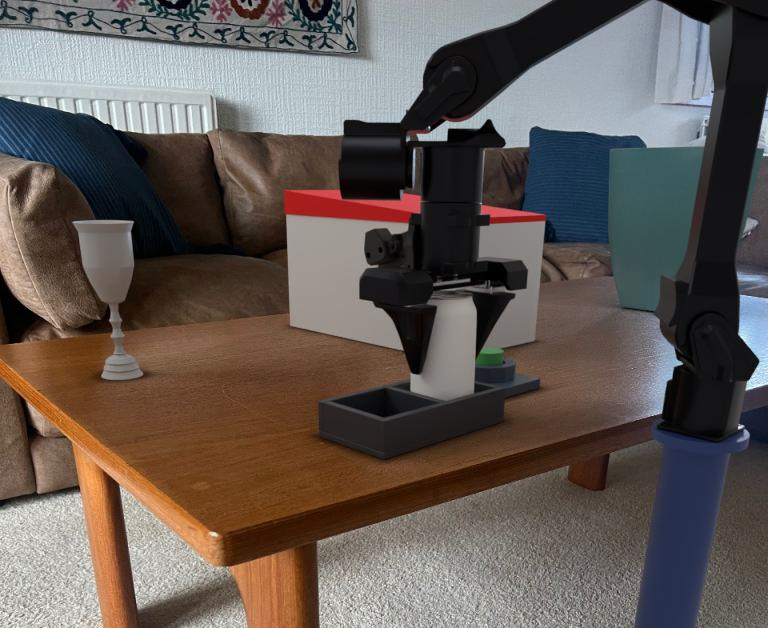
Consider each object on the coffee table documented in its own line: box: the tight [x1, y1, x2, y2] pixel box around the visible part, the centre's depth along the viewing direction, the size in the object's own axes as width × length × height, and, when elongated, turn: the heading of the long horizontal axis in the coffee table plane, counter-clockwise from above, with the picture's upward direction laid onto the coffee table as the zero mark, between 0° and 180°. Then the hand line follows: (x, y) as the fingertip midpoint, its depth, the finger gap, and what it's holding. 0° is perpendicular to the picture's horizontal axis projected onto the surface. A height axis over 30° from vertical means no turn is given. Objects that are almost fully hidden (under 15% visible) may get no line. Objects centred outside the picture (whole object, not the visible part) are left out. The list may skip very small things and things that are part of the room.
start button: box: [475, 347, 505, 366], centre depth 93 cm, size 4×4×2 cm
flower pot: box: [607, 145, 765, 312], centre depth 146 cm, size 20×20×28 cm
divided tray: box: [317, 378, 506, 460], centre depth 78 cm, size 9×17×4 cm, turn 134°
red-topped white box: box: [283, 189, 547, 352], centre depth 121 cm, size 21×35×21 cm, turn 45°
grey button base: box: [474, 357, 541, 399], centre depth 94 cm, size 10×8×3 cm
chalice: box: [72, 219, 144, 381], centre depth 94 cm, size 7×7×18 cm
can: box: [410, 290, 477, 401], centre depth 78 cm, size 6×6×12 cm
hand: (443, 367), depth 79 cm, fingers open, 8 cm apart
